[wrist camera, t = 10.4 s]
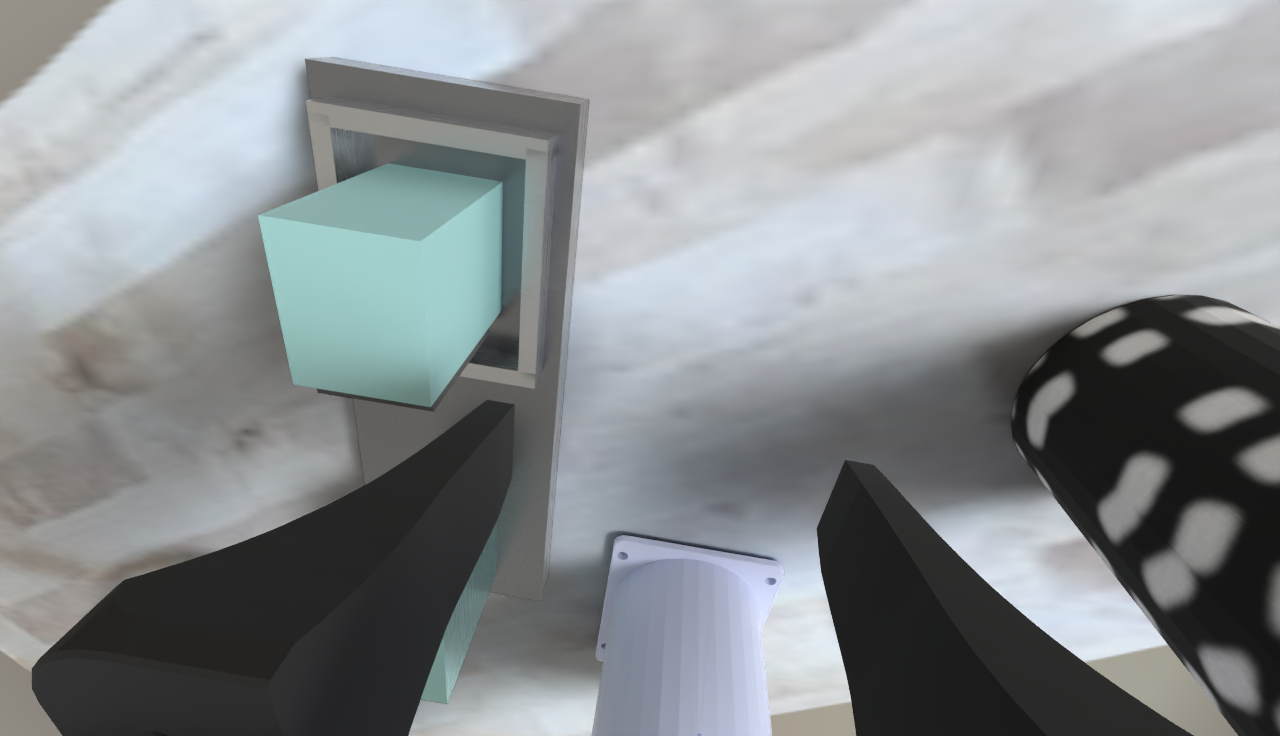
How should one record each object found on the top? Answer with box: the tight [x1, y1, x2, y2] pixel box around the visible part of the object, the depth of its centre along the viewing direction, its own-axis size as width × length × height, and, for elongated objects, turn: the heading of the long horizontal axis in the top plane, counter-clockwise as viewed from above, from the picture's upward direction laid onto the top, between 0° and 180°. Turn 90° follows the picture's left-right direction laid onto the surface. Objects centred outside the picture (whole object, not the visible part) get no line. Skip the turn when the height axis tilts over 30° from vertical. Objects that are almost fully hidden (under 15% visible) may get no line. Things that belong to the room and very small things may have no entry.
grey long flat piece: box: [305, 57, 589, 704], centre depth 20 cm, size 22×8×8 cm, turn 172°
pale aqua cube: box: [258, 163, 503, 412], centre depth 16 cm, size 5×4×6 cm
